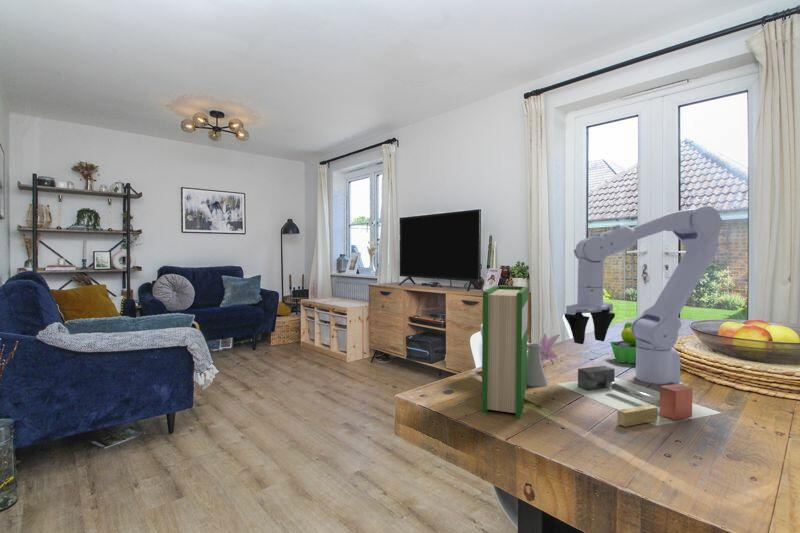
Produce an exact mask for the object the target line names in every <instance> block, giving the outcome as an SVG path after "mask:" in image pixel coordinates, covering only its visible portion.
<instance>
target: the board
mask: <svg viewBox="0 0 800 533" xmlns="http://www.w3.org/2000/svg"><path fill="white" fill-rule="evenodd" d="M614 382H615V383H616V384H619V385H622V386H625V387H628V388H631V389H634V390H637V391H639V392H642V393H645V394H648V395H651V396H654V397H657V398H659V399H660V391H657V390H654V389H651V388H648V387H646V386H642V385H639V384H636V383H633V382H630V381H627V380H624V379H621V378H618V377H616V376H615V378H614ZM556 385H557V386H560V387H562V388H565V389H567V390H569V391H572V392H575V393H577V394H578V395H581V396H583V397H587V398H589V399H591V400H593V401H596V402H598V403H601V404H603V405H605V406H608V407H610V408H612V409H615V410H616V411H617V410H621V409H627V408H633V407H639V406H644V405H652V404H649V403H646V402H644V401H641V400H638V399H636V398H633V397H630V396H628V395H625V394H622V393H619V392H617V391H614V390H610V389H609V388H605V389H598V390H591V391H587V390H584V389H582V388H579V387H578V380H575V381H567V382H560V383H558V382H557V383H556ZM652 406H655V405H652ZM655 407H657V406H655ZM719 414H722V412H720V411H717V410H714V409H711V408H708V407H705V406H702V405H699V404H696V403H694V402H692V417H690V418H685V419H680V420H673V419H670V418H668V417H665V416H663V415H660V407H658V414H657V421H652V422H647V423H648V424H651V425H653V426H655V427H659V426H665V425H670V424H674V423H678V422H679V423H680V422H683V421H690V420H693V419H700V418H704V417H710V416H715V415H719Z"/></svg>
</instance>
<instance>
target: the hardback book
mask: <svg viewBox="0 0 800 533" xmlns="http://www.w3.org/2000/svg"><path fill="white" fill-rule="evenodd" d="M528 299H529V286H519V285H517V286H516V285H515V286H513V285H493V286H492V287H490V288H488V289H486V290H483V291H482V324H483V327H482V335H481V343H482V344H481V346H482V349H481V350H482V351H481V356H482V357H481V414H488V412H489V410H492V411H498V412H505V413H513V414H515V419H522V414H523V410H524V405H525V400H526V390H527V386H528V385H527V357H528V351H527V344H528V324H529V323H528V318H529V317H528V316H529V314H528V313H529V311H528V310H529V309H528V308H529V307H528V305H529V302H528V301H529V300H528Z"/></svg>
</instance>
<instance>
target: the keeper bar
mask: <svg viewBox="0 0 800 533" xmlns="http://www.w3.org/2000/svg"><path fill="white" fill-rule="evenodd" d="M616 411H617V416H616V418H617V419H616V420H617V421H616V424H618V425H620V426H622V427H625V428H626V427H630V426H635V425H636V426H637V425H641V424H646V423H648V422H652V421H657V414H658V407H655V406H652V405H644V406H639V407H633V408H627V409H621V410H617V409H616Z"/></svg>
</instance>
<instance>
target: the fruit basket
mask: <svg viewBox="0 0 800 533" xmlns="http://www.w3.org/2000/svg"><path fill="white" fill-rule="evenodd" d="M632 323H633V322H631V321H630V322H629V321H628V322H626V323H625V324H624V326H623V329H622V330H621V334H620V336H621V340H619V341H610V342H609V343H610V346H611V350H612V352H613V356H614V359H615V358H616V359H615V360H616V361H617V362H618V363H619V362H627V363H626V364H630V363H636V339H635V338H634V336H633V335H632V333H631V326H632Z"/></svg>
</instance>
